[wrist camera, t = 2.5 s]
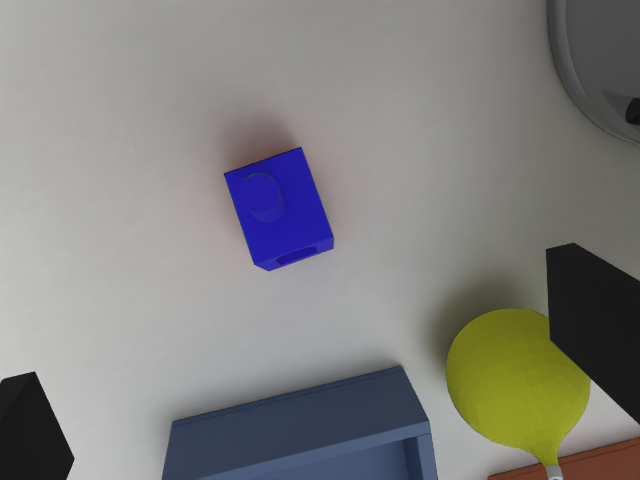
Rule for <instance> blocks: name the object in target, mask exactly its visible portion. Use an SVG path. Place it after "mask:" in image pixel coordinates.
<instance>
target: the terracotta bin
mask: <svg viewBox="0 0 640 480" xmlns="http://www.w3.org/2000/svg"><path fill="white" fill-rule="evenodd" d="M558 465H559V467H560V469H561V472H562V476H563V480H640V438H637V439H633V440H629V441H625V442H621V443H617V444H613V445H610V446H606V447H602V448H598V449H594V450H590V451H586V452H583V453H579V454H575V455H571V456H567V457H563V458H559V459H558ZM488 480H548V476H547V472H546V469H545V467H544V465H543V464H542V463H540V464H536V465H533V466H529V467H525V468H521V469H517V470H513V471H509V472H506V473H502V474H498V475H494V476H490V477H488Z"/></svg>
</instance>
